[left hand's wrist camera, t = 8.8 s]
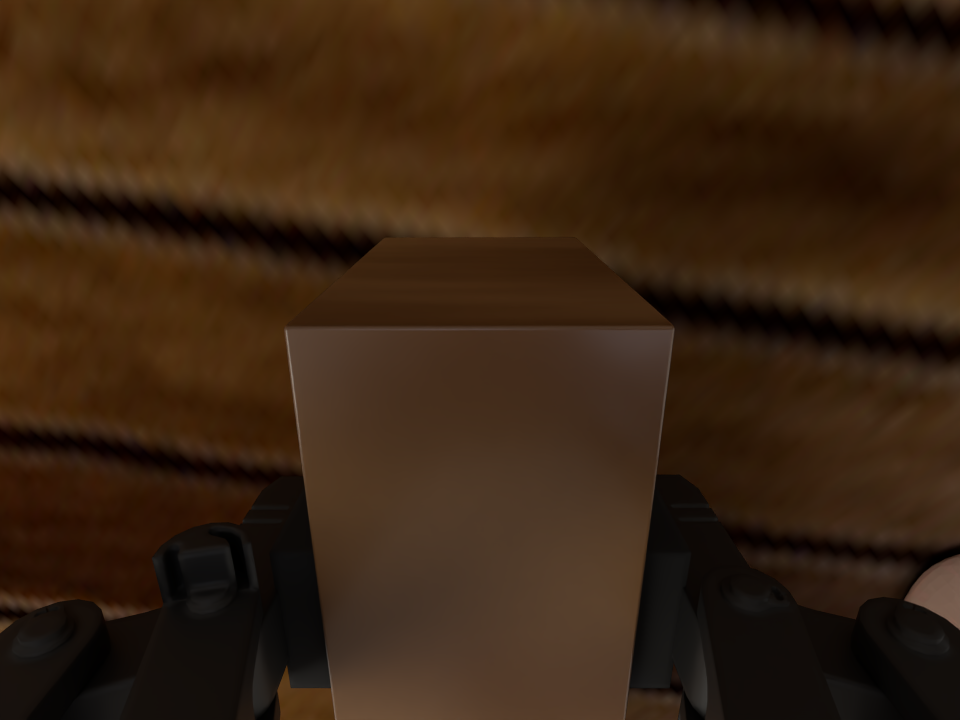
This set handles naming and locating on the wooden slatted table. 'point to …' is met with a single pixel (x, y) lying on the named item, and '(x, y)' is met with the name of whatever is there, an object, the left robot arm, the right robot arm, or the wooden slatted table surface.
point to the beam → (479, 476)
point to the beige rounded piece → (939, 589)
